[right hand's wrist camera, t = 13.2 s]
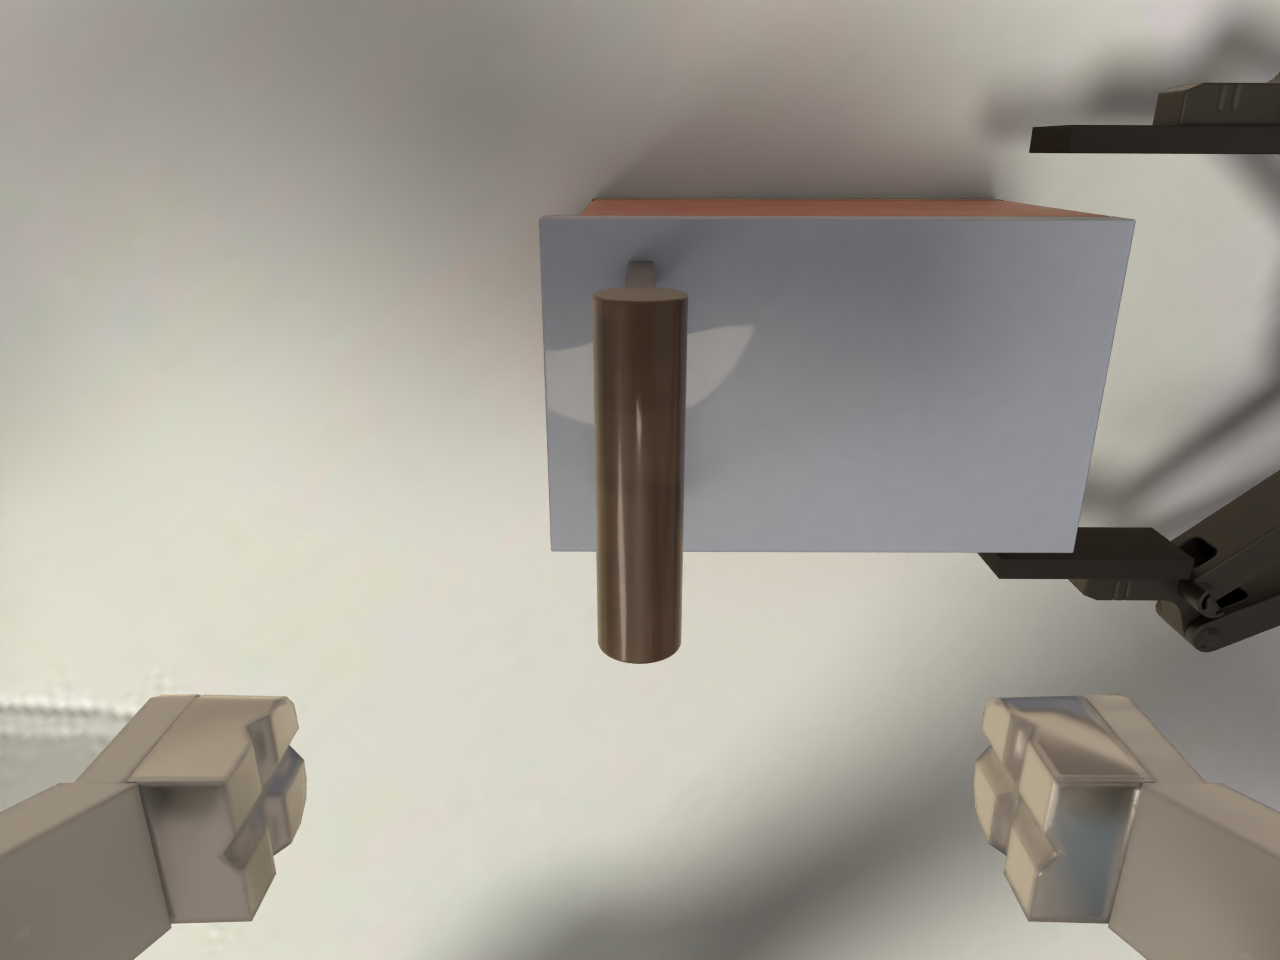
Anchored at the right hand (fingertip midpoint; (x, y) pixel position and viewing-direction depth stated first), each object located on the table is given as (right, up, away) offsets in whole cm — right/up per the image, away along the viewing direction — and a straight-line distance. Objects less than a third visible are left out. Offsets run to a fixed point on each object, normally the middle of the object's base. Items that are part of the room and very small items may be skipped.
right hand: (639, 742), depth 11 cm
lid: (+5, +6, +16) cm, 18 cm away
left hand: (+12, +7, +19) cm, 23 cm away
